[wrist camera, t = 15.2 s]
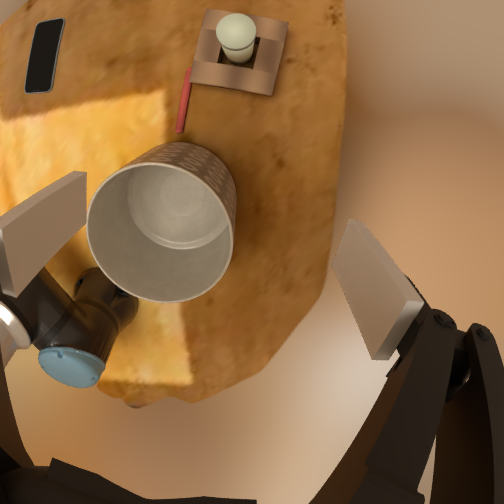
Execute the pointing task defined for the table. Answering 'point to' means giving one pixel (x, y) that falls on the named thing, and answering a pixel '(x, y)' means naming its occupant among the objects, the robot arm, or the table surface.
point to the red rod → (183, 102)
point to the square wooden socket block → (234, 77)
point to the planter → (165, 223)
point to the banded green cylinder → (237, 38)
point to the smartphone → (44, 56)
